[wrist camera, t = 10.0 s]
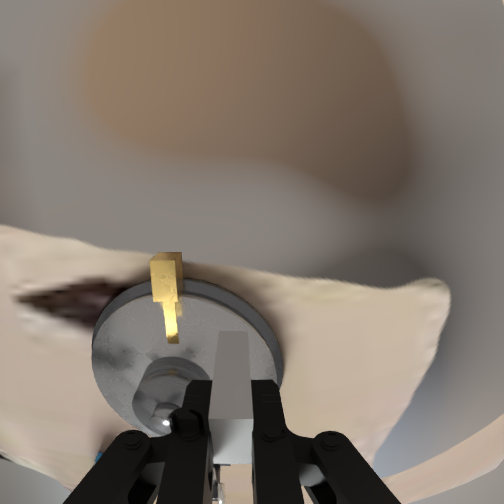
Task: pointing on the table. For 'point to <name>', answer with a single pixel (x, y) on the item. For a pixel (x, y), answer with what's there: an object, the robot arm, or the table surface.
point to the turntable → (167, 336)
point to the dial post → (218, 485)
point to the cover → (164, 391)
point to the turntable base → (211, 291)
